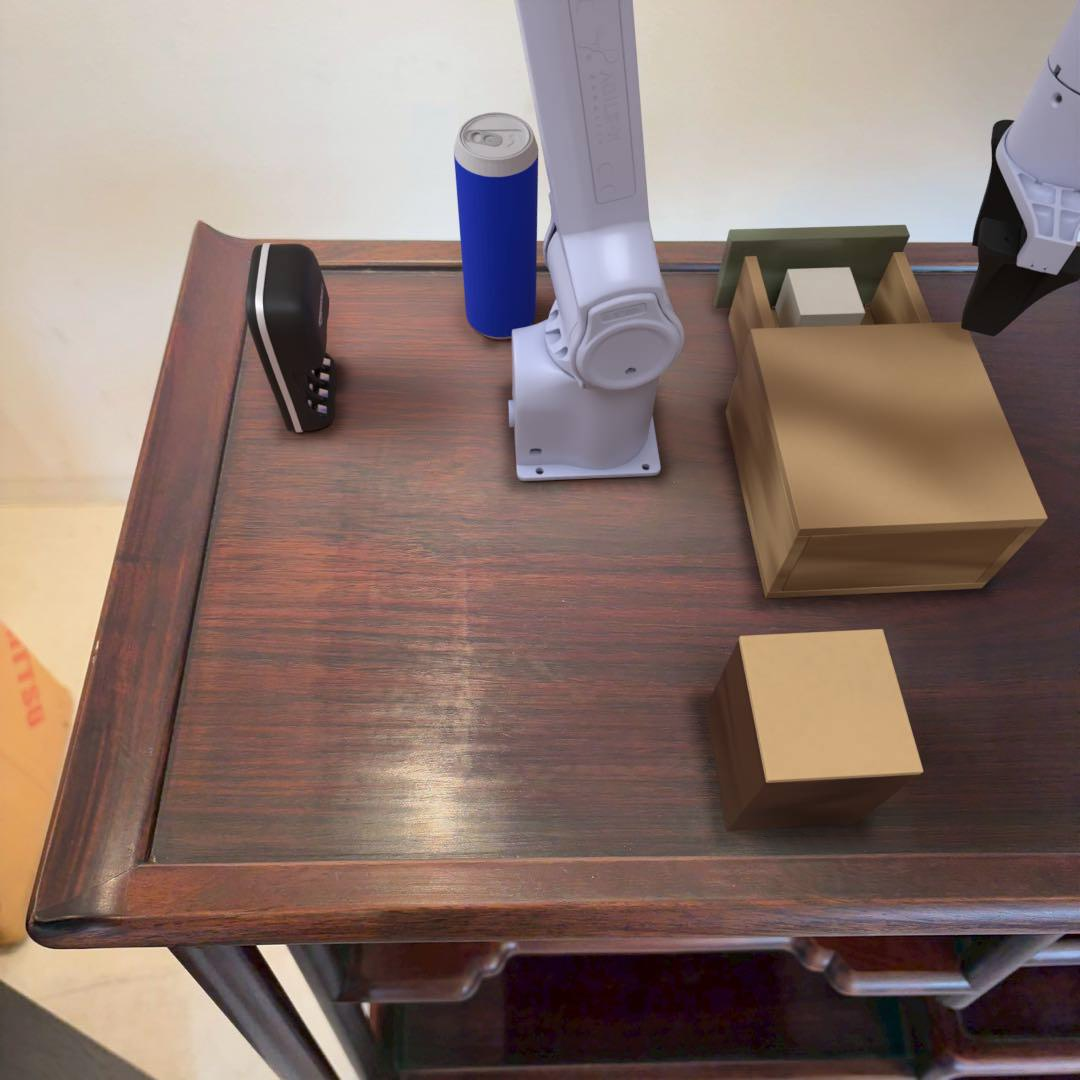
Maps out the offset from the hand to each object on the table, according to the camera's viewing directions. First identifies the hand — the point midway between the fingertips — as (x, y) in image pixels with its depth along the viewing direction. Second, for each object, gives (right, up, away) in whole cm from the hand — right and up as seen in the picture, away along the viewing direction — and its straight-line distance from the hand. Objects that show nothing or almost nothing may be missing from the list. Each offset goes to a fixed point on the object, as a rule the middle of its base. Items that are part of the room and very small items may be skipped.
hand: (983, 285), depth 55 cm
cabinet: (-7, -13, +4) cm, 15 cm away
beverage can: (-30, +1, +12) cm, 32 cm away
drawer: (-8, -2, +9) cm, 12 cm away
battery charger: (-43, -6, +7) cm, 44 cm away
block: (-8, -1, +9) cm, 12 cm away
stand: (-14, -28, -6) cm, 32 cm away
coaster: (-14, -23, -13) cm, 30 cm away
